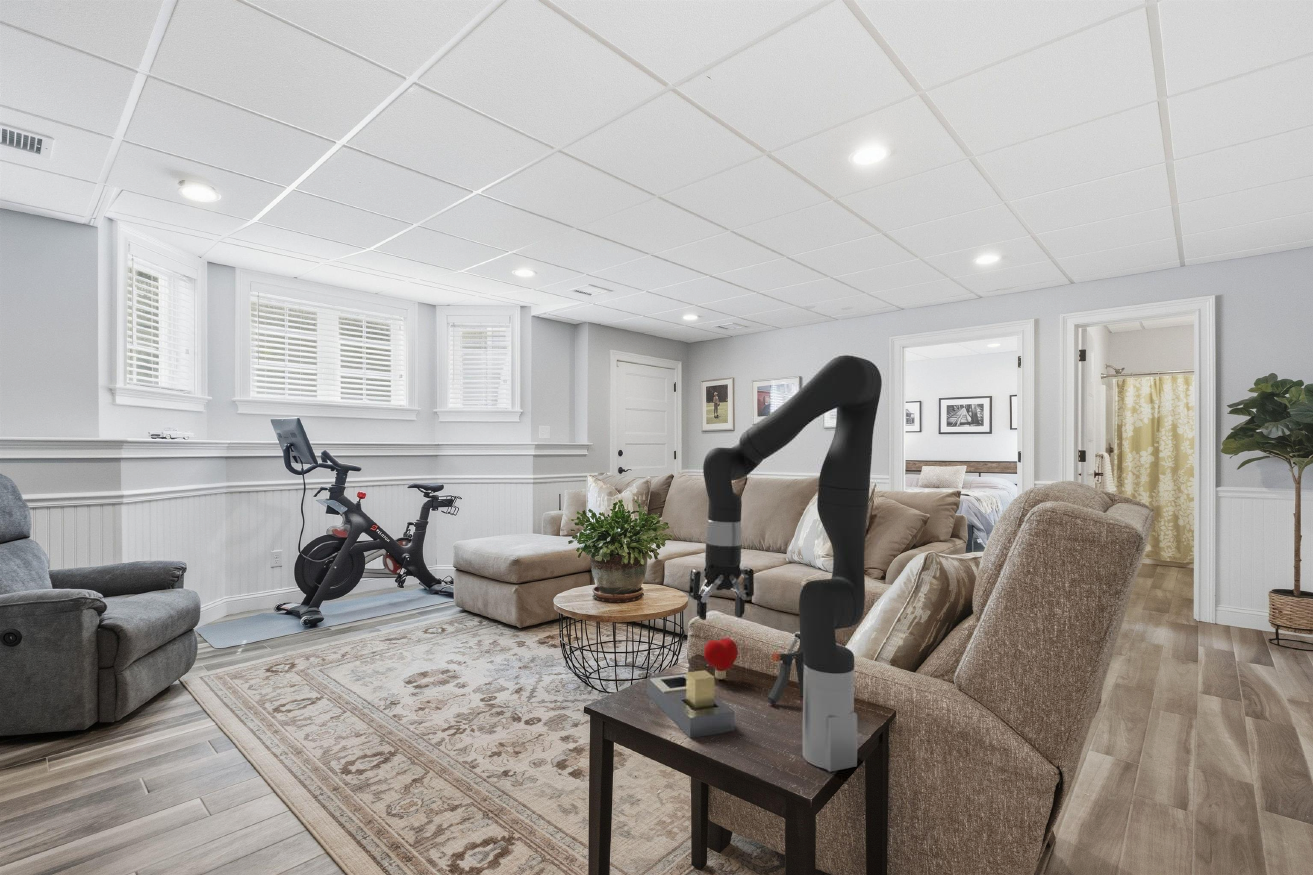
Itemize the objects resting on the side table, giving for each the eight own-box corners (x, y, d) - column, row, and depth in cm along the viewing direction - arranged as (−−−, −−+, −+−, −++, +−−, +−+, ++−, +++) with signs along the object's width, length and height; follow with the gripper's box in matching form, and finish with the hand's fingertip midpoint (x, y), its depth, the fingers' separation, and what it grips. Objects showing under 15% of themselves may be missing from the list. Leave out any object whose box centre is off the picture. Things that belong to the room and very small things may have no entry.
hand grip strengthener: (765, 704, 141) (766, 637, 141) (804, 693, 147) (805, 630, 148) (772, 707, 139) (773, 640, 139) (811, 697, 145) (812, 632, 146)
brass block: (713, 725, 129) (714, 676, 129) (694, 728, 127) (695, 679, 127) (704, 717, 133) (705, 670, 133) (685, 719, 131) (686, 672, 132)
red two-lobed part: (712, 687, 150) (713, 646, 150) (697, 678, 156) (698, 638, 157) (743, 681, 155) (744, 641, 155) (727, 672, 161) (728, 633, 161)
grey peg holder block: (734, 730, 126) (734, 709, 126) (690, 738, 123) (690, 716, 123) (685, 689, 149) (685, 671, 149) (646, 694, 145) (647, 675, 145)
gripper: (700, 545, 125) (697, 625, 125) (762, 543, 130) (759, 620, 130) (685, 539, 132) (682, 614, 132) (744, 537, 137) (741, 610, 137)
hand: (720, 617), depth 131 cm, fingers open, 8 cm apart
